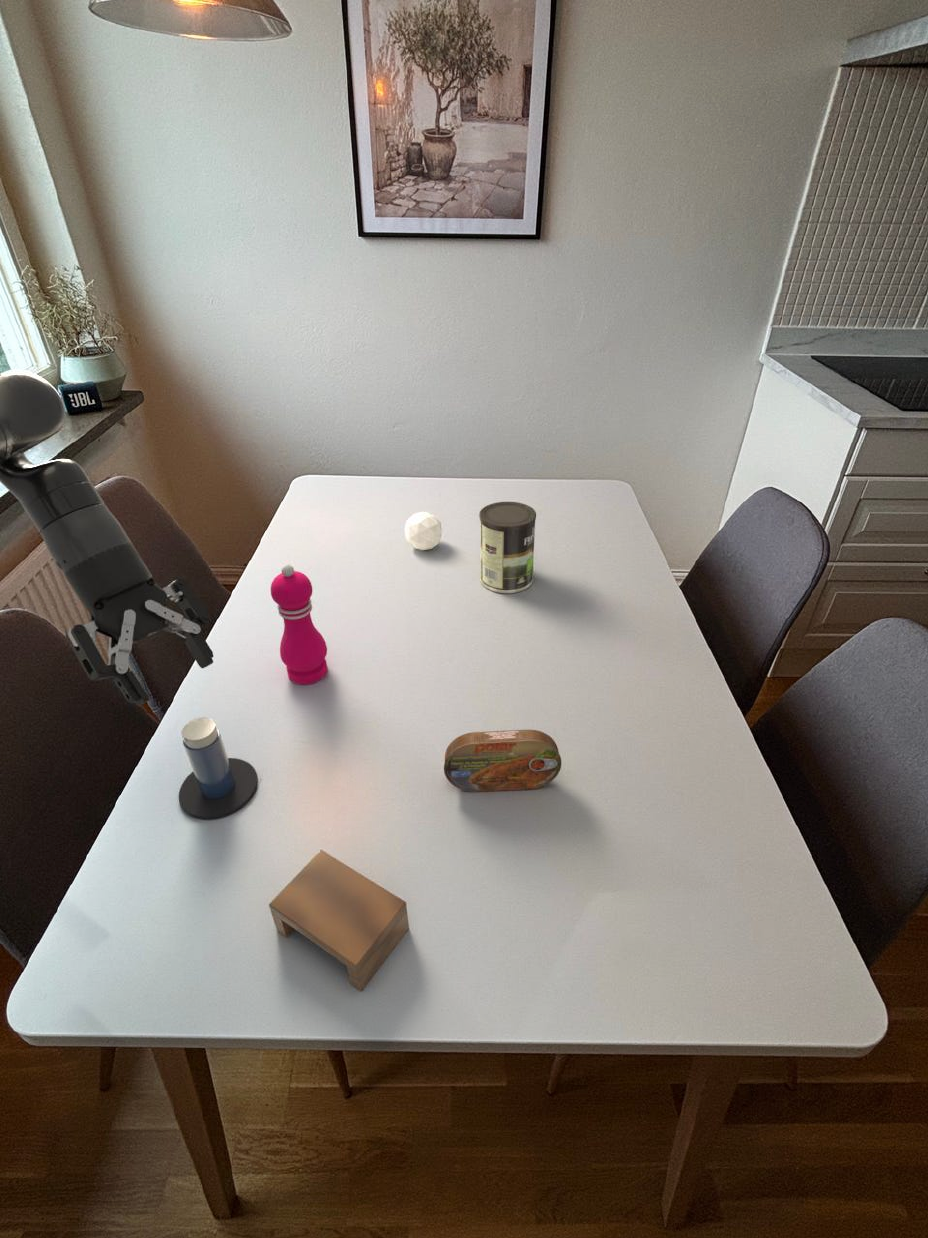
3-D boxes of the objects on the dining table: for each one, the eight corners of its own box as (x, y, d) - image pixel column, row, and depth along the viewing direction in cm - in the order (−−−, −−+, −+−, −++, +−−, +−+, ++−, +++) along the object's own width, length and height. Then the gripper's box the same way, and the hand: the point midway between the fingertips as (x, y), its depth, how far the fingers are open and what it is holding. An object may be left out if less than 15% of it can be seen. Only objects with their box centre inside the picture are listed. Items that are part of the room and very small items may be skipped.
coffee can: (537, 568, 134) (540, 503, 126) (527, 597, 126) (530, 529, 118) (486, 562, 137) (486, 498, 129) (473, 589, 129) (473, 523, 120)
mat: (214, 832, 85) (213, 829, 84) (163, 798, 89) (162, 795, 89) (273, 780, 91) (273, 777, 91) (223, 750, 96) (222, 747, 96)
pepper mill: (316, 652, 114) (296, 547, 102) (339, 673, 109) (321, 566, 98) (277, 671, 110) (252, 564, 98) (299, 693, 106) (275, 584, 94)
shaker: (215, 804, 87) (195, 746, 81) (193, 790, 89) (172, 732, 83) (242, 782, 90) (224, 724, 84) (219, 768, 92) (201, 711, 86)
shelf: (361, 992, 68) (356, 966, 66) (276, 930, 74) (268, 904, 71) (409, 928, 74) (406, 902, 71) (327, 875, 79) (321, 849, 76)
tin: (445, 793, 89) (442, 748, 84) (444, 775, 92) (442, 729, 87) (559, 789, 89) (564, 743, 84) (556, 770, 92) (560, 725, 87)
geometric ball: (415, 557, 145) (398, 523, 144) (449, 540, 144) (432, 505, 144) (414, 557, 137) (395, 521, 136) (449, 539, 137) (431, 503, 136)
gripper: (42, 570, 66) (134, 711, 69) (167, 523, 77) (242, 647, 79) (21, 592, 71) (107, 723, 74) (141, 544, 82) (212, 660, 84)
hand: (177, 683), depth 77 cm, fingers open, 8 cm apart
